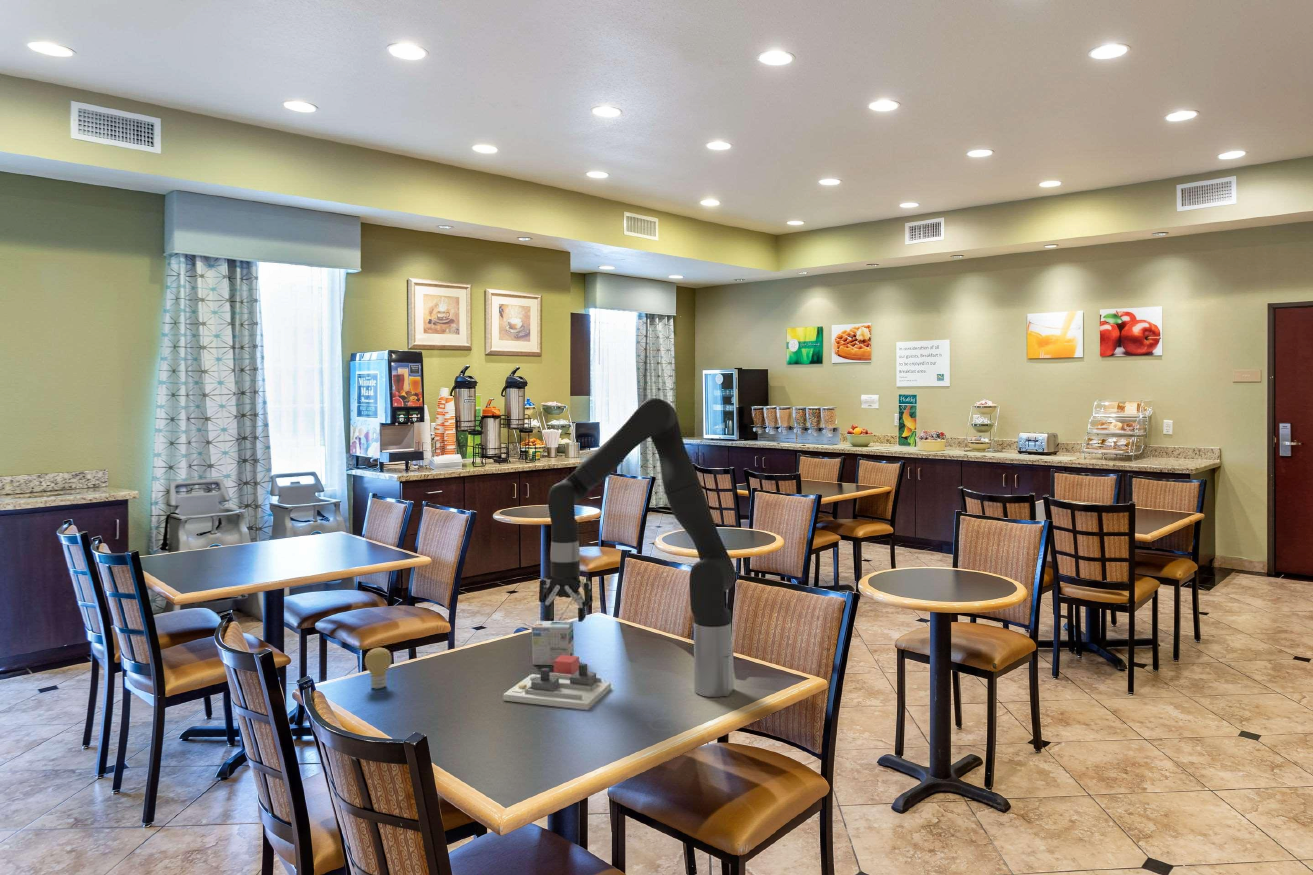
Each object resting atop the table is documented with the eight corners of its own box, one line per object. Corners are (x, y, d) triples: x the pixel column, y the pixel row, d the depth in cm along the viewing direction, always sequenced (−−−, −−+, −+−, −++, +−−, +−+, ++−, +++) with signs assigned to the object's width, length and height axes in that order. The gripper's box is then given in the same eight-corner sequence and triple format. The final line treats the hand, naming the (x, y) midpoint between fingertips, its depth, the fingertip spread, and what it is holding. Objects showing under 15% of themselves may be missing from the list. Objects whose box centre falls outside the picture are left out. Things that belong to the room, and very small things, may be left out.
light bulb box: (574, 658, 226) (574, 620, 226) (569, 666, 220) (569, 626, 219) (537, 657, 227) (536, 619, 227) (531, 665, 221) (530, 626, 220)
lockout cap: (579, 675, 212) (579, 656, 212) (571, 681, 207) (571, 662, 207) (561, 673, 213) (561, 654, 213) (553, 679, 209) (553, 660, 208)
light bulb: (360, 689, 203) (359, 649, 203) (379, 681, 209) (378, 643, 208) (378, 693, 200) (377, 653, 200) (397, 684, 206) (396, 646, 205)
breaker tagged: (559, 687, 198) (558, 666, 198) (550, 694, 193) (549, 673, 193) (540, 685, 200) (540, 665, 200) (531, 692, 195) (531, 671, 195)
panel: (610, 688, 202) (610, 662, 202) (587, 709, 188) (587, 681, 187) (531, 679, 209) (531, 654, 208) (503, 700, 194) (502, 673, 194)
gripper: (596, 556, 210) (596, 618, 211) (546, 554, 215) (547, 614, 215) (584, 562, 203) (585, 625, 204) (533, 559, 208) (534, 621, 208)
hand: (565, 619), depth 210 cm, fingers open, 8 cm apart
